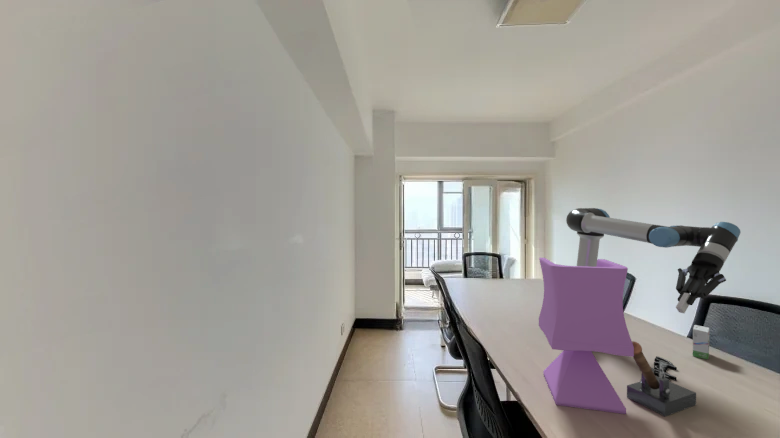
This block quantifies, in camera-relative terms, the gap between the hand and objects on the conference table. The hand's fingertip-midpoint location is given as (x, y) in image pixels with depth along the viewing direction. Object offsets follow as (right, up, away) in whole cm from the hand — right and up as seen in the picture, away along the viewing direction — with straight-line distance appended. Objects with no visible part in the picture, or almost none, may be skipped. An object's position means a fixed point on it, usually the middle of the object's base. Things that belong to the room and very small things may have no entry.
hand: (680, 310), depth 108 cm
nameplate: (+7, -29, +16) cm, 34 cm away
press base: (-9, -29, -3) cm, 30 cm away
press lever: (-12, -23, -4) cm, 27 cm away
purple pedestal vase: (-33, -29, +2) cm, 44 cm away
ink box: (+37, -28, +31) cm, 56 cm away
